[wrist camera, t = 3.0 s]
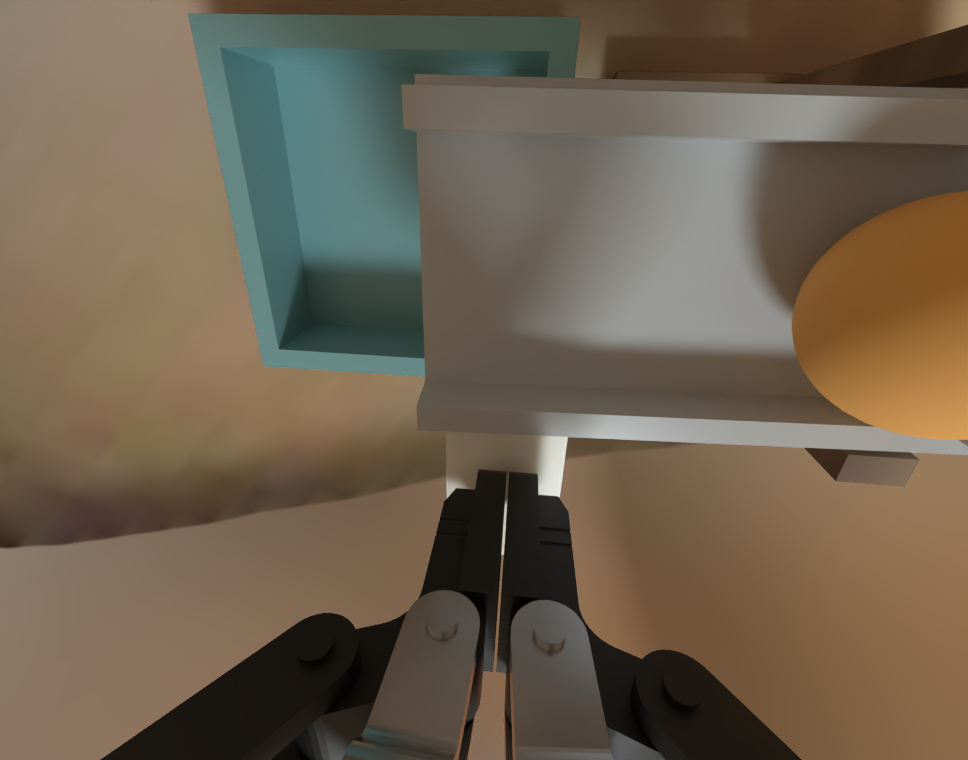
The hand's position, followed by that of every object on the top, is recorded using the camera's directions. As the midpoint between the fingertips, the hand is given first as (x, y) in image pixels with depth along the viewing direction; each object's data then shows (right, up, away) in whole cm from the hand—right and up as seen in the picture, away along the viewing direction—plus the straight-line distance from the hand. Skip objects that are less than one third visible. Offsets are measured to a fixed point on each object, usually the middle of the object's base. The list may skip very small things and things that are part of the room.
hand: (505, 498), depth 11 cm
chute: (+7, +7, +6) cm, 11 cm away
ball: (+7, +4, -4) cm, 9 cm away
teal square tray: (-3, +10, +8) cm, 13 cm away
